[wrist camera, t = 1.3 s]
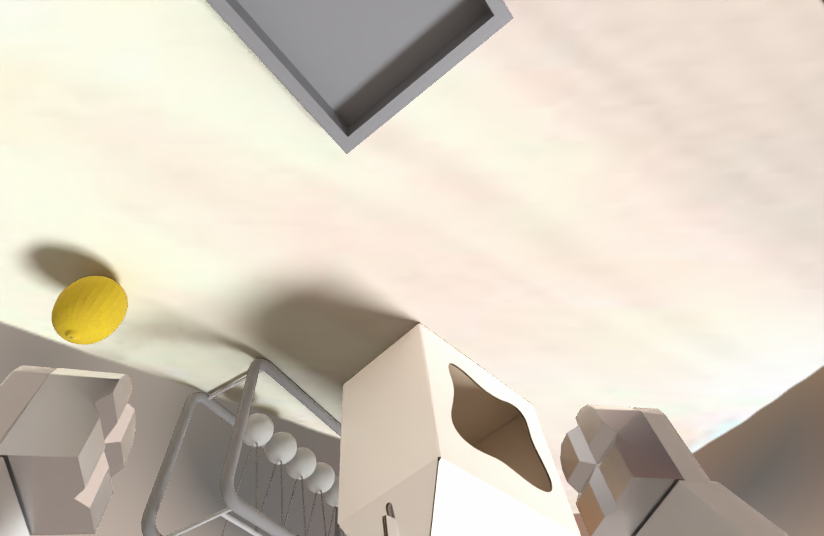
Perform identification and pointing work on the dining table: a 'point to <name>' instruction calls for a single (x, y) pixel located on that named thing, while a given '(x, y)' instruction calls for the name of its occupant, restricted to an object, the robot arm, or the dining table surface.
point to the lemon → (89, 310)
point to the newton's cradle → (277, 450)
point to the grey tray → (360, 51)
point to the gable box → (443, 450)
